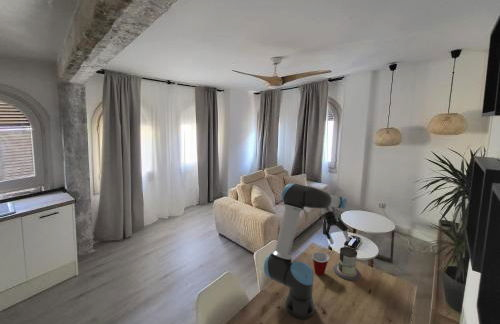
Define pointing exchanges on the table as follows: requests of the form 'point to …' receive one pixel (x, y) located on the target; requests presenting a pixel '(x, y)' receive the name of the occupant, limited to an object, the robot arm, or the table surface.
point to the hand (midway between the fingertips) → (340, 242)
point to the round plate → (352, 277)
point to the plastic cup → (320, 262)
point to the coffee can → (347, 261)
